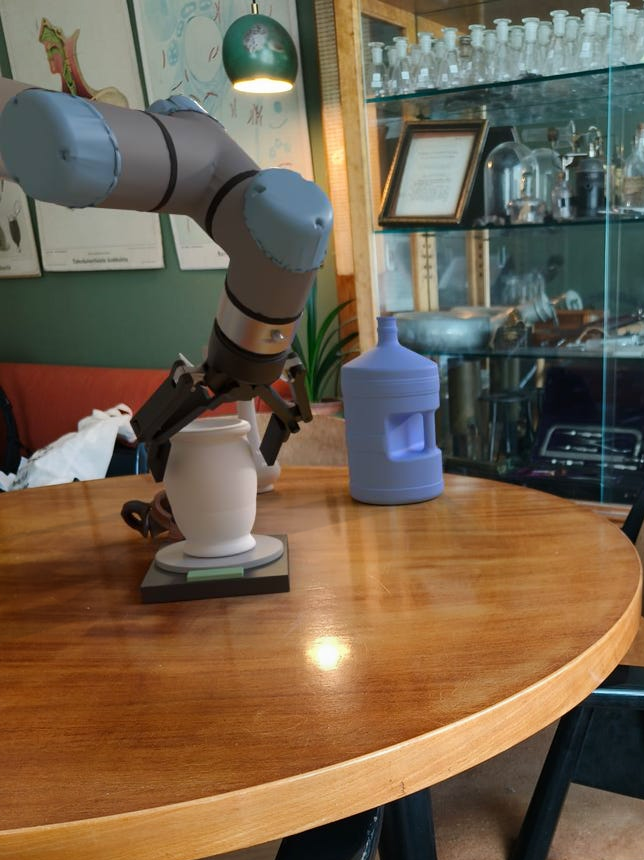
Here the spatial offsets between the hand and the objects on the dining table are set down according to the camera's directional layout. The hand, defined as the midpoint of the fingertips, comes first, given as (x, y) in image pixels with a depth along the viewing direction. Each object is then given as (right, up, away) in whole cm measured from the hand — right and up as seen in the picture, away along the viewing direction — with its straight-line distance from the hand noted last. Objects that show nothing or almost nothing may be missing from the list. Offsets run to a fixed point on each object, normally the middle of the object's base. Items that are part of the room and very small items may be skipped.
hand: (212, 464), depth 103 cm
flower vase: (-9, +5, +51) cm, 52 cm away
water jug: (+17, +4, +44) cm, 48 cm away
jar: (0, -10, +5) cm, 11 cm away
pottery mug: (-12, -7, +20) cm, 24 cm away
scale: (0, -12, +5) cm, 13 cm away
